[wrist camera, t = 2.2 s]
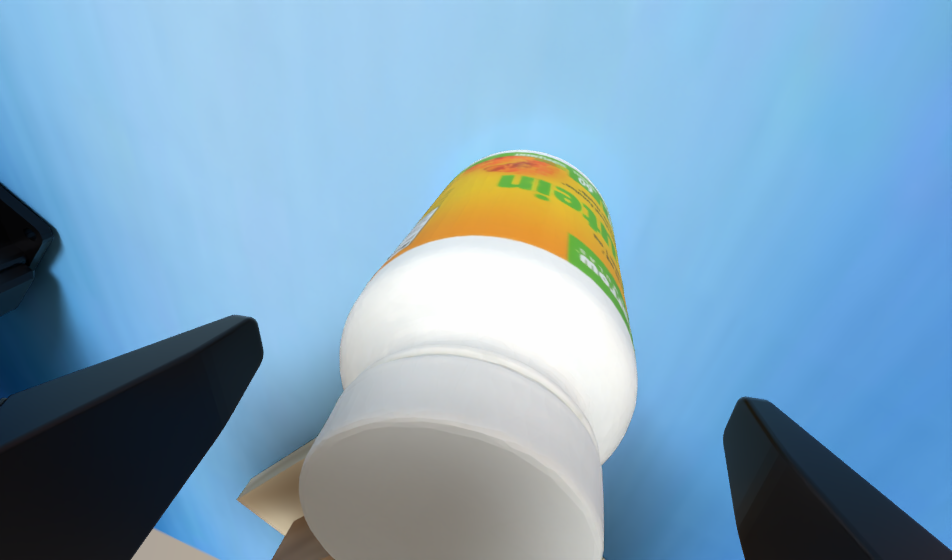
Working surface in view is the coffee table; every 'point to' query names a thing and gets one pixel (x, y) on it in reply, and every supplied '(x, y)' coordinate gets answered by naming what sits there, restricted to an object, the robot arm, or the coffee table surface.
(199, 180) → the coffee table surface
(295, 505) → the collar board
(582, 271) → the supplement bottle
